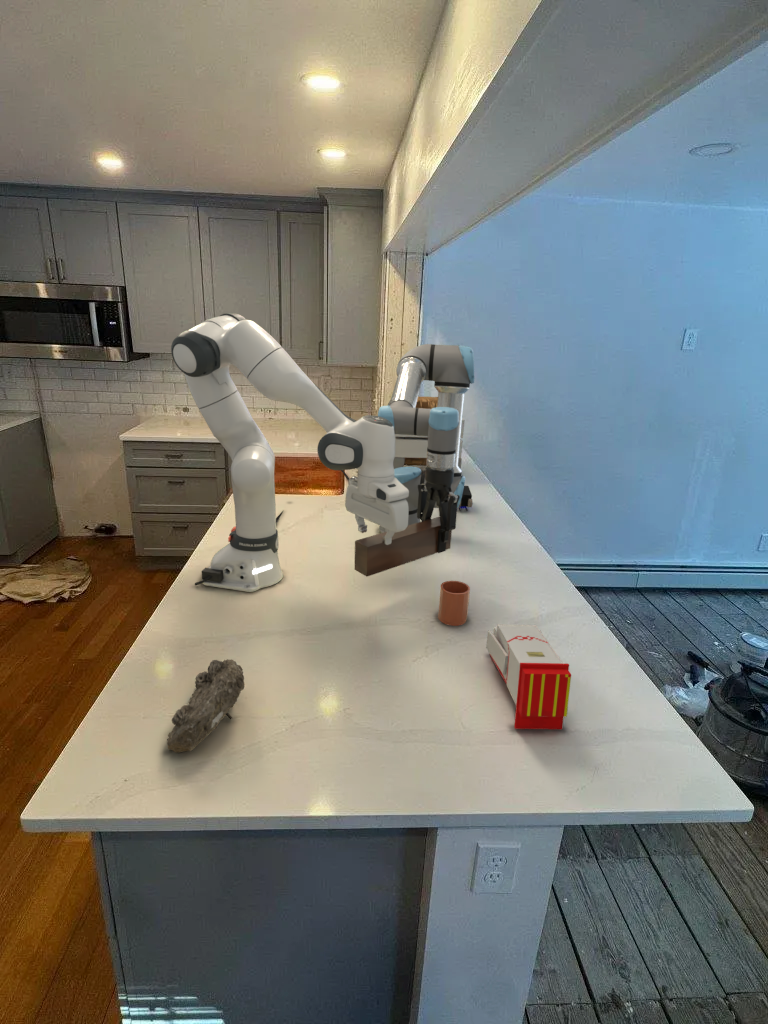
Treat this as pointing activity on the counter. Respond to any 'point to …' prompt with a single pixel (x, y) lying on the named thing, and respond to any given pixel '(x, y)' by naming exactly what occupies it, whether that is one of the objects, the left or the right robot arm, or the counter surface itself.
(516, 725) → the toy
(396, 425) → the right robot arm
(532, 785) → the counter surface
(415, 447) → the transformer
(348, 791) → the counter surface
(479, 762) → the counter surface
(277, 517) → the feather
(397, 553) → the walnut bar
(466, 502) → the figurine character
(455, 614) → the terracotta cup
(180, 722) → the fossil
